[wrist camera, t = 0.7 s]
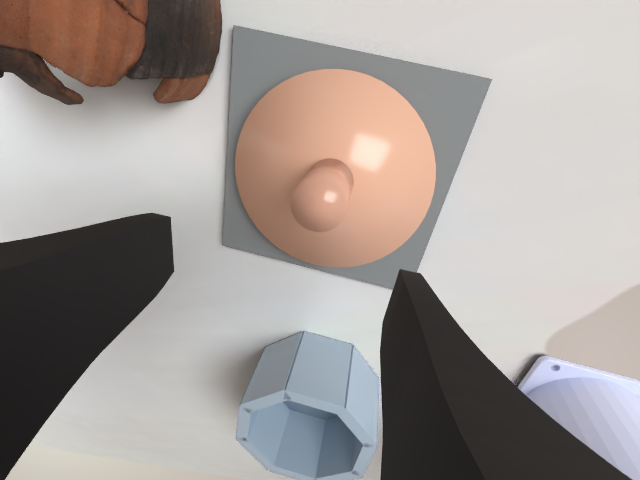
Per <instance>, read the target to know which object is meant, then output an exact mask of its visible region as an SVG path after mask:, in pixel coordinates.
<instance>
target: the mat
mask: <svg viewBox="0 0 640 480" xmlns="http://www.w3.org/2000/svg"><path fill="white" fill-rule="evenodd" d="M321 69H345V70H353V71H357V72H361V73H364V74H368V75H370V76H373V77H375V78H377V79H379V80H381V81H383V82H385V83H386V84H388V85H389V86H391V87H392V88H394V89H395V90H396V91H398V92H399V93H400V94H401V95H402V96H403V97H404V98H406V100H407V101H408V102H409V103H410V104H411V106H412V107H413V108H414V109H415V110H416V112H417V114H418V115H419V117H420V118H421V120H422V121H423V123H424V125H425V127H426V129H427V132H428V134H429V136H430V139H431V142H432V146H433V150H434V155H435V162H436V181H435V188H434V194H433V197H432V200H431V204H430V207H429V209H428V211H427V213H426V215H425V217H424V219H423V221H422V222H421V224H420V226H419V227H418V228H417V230H416V231H415V232H414V233H413V235H412V236H411V237H410V238H409V239H408V240H407V241H406V242H405V243H404V244H403V245H401V246H400V247H399V248H397V249H396V250H395V251H393V252H392V253H390V254H388V255H386V256H385V257H383V258H381V259H378V260H376V261H373V262H371V263H367V264H363V265H360V266H353V267H342V268H334V267H324V266H319V265H314V264H310V263H307V262H304V261H301V260H299V259H297V258H294V257H292V256H290V255H289V254H287V253H285V252H284V251H282V250H280V249H279V248H278V247H276V246H275V245H274V244H272V243H271V242H270V241H269V240H268V239H267V238H266V237H265V236H264V235H263V234H262V233H261V232H260V231H259V229H258V228H257V227H256V226H255V224H254V223H253V221H252V220H251V218H250V217H249V215H248V213H247V211H246V209H245V207H244V205H243V202H242V200H241V197H240V194H239V190H238V186H237V182H236V174H235V156H236V148H237V143H238V140H239V136H240V133H241V130H242V128H243V126H244V123H245V121H246V119H247V118H248V116H249V114H250V113H251V111H252V109H253V108H254V107H255V106H256V104H257V103H258V102H259V101H260V100H261V99H262V98H263V97H264V96H265V95H266V94H267V93H268V92H269V91H270V90H271V89H273V88H274V87H276V86H277V85H279V84H280V83H282V82H283V81H286V80H288V79H290V78H292V77H294V76H296V75H299V74H302V73H305V72H309V71H315V70H321ZM491 81H492V79H489V78H484V77H480V76H475V75H470V74H465V73H460V72H456V71H451V70H446V69H441V68H436V67H432V66H427V65H422V64H417V63H412V62H408V61H403V60H398V59H393V58H388V57H384V56H379V55H374V54H369V53H364V52H360V51H355V50H350V49H345V48H341V47H336V46H331V45H326V44H321V43H317V42H312V41H307V40H302V39H297V38H293V37H288V36H283V35H278V34H273V33H269V32H264V31H259V30H254V29H249V28H245V27H240V26H235V25H234V27H233V46H232V66H231V85H230V105H229V124H228V144H227V163H226V183H225V202H224V222H223V241H222V245H224V246H228V247H231V248H235V249H239V250H243V251H247V252H251V253H255V254H258V255H262V256H266V257H270V258H274V259H278V260H282V261H286V262H289V263H293V264H297V265H301V266H305V267H309V268H313V269H316V270H320V271H324V272H328V273H332V274H336V275H340V276H343V277H347V278H351V279H355V280H359V281H363V282H367V283H371V284H374V285H378V286H382V287H386V288H390V289H393V288H394V285H395V282H396V279H397V276H398V273H399V269H403V270H407V271H411V272H416V273H417V270H418V268H419V265H420V262H421V260H422V257H423V255H424V252H425V250H426V247H427V245H428V242H429V239H430V237H431V234H432V232H433V229H434V227H435V224H436V221H437V219H438V216H439V214H440V211H441V209H442V206H443V204H444V201H445V198H446V196H447V193H448V191H449V188H450V186H451V183H452V181H453V178H454V175H455V173H456V170H457V168H458V165H459V163H460V160H461V158H462V155H463V152H464V150H465V147H466V145H467V142H468V140H469V137H470V134H471V132H472V129H473V127H474V124H475V122H476V119H477V117H478V114H479V111H480V109H481V106H482V104H483V101H484V99H485V96H486V94H487V91H488V88H489V86H490V83H491Z"/></svg>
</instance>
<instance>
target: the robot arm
mask: <svg viewBox="0 0 640 480" xmlns="http://www.w3.org/2000/svg"><path fill="white" fill-rule="evenodd" d="M173 272H174V263H173V247H172V232H171V217H168V216H164V215H159V214H155V213H147V214H140V215H135V216H130V217H125V218H120V219H116V220H111V221H107V222H103V223H98V224H94V225H90V226H85V227H81V228H77V229H72V230H67V231H62V232H57V233H53V234H48V235H43V236H38V237H33V238H28V239H22V240H16V241H10V242H4V243H0V480H5V479H6V477H7V475H8V474H9V472H10V471H11V469H12V468H13V466H14V465H15V464H16V462H17V461H18V459H19V458H20V457H21V455H22V454H23V452H24V451H25V450H26V448H27V447H28V445H29V444H30V442H31V441H32V440H33V438H34V437H35V435H36V434H37V433H38V431H39V430H40V428H41V427H42V426H43V424H44V423H45V422H46V420H47V419H48V418H49V416H50V415H51V414H52V412H53V411H54V410H55V408H56V407H57V406H58V405H59V403H60V402H61V401H62V399H63V398H64V397H65V395H66V394H67V393H68V391H69V390H70V389H71V388H72V386H73V385H74V384H75V383H76V382H77V380H78V379H79V378H80V377H81V375H82V374H83V373H84V372H85V370H86V369H87V368H88V367H89V365H90V364H91V363H92V362H93V361H94V360H95V359H96V358H97V356H98V355H99V354H100V353H101V352H102V351H103V350H104V349H105V348H106V347H107V346H108V345H109V344H110V343H111V342H112V341H113V340H114V339H115V338H116V337H117V336H118V335H119V334H120V333H121V332H122V331H123V330H124V329H125V328H126V327H127V326H128V325H129V324H130V323H131V322H132V321H133V319H134V318H135V317H136V316H137V315H138V314H139V313H140V312H141V311H142V310H143V309H144V308H145V307H146V306H147V305H148V304H149V303H150V302H151V301H152V300H153V299H154V298H155V297H156V296H157V294H158V293H159V292H160V290H161V289H162V288H163V286H164V285H165V284H166V282H167V281H168V279H169V278H170V277H171V275H172V274H173ZM380 364H381V391H382V417H383V446H382V463H381V480H640V380H637V379H634V378H630V377H626V376H622V375H618V374H615V373H611V372H607V371H603V370H599V369H596V368H592V367H588V366H584V365H580V364H577V363H573V362H569V361H566V360H562V359H558V358H554V357H550V356H541V357H539V358H538V359H537V360H536V362H535V363H534V364H533V366H532V367H531V369H530V370H529V372H528V373H527V374H526V376H525V377H524V379H523V380H522V381H521V383H520V384H519V386H518V387H516V386H515V385H514V384H513V383H512V382H511V381H510V380H509V379H508V378H507V377H506V376H505V375H504V374H503V373H502V372H501V371H500V370H499V369H498V368H497V367H496V366H495V365H494V364H493V363H492V362H491V361H490V360H489V359H488V358H487V357H486V356H485V355H484V354H483V353H482V352H481V351H480V349H479V348H478V347H477V346H476V345H475V344H474V343H473V341H472V340H471V339H470V338H469V337H468V336H467V334H466V333H465V332H464V331H463V330H462V329H461V327H460V326H459V325H458V324H457V322H456V321H455V320H454V319H453V317H452V316H451V315H450V313H449V312H448V311H447V309H446V308H445V307H444V305H443V304H442V303H441V301H440V300H439V298H438V297H437V296H436V294H435V293H434V291H433V290H432V289H431V287H430V286H429V284H428V283H427V282H426V280H425V279H424V277H423V276H422V275H421V274H420V273H416V272H411V271H407V270H403V269H399V273H398V276H397V279H396V282H395V285H394V288H393V291H392V295H391V298H390V301H389V304H388V307H387V310H386V313H385V317H384V320H383V325H382V335H381V347H380ZM553 365H556V366H553Z"/></svg>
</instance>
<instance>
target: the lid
mask: <svg viewBox="0 0 640 480" xmlns="http://www.w3.org/2000/svg"><path fill="white" fill-rule="evenodd" d="M235 174H236V182H237V186H238V190H239V194H240V197H241V200H242V202H243V205H244V207H245V209H246V211H247V213H248V215H249V217H250V218H251V220H252V221H253V223H254V224H255V226H256V227H257V228H258V229H259V231H260V232H261V233H262V234H263V235H264V236H265V237H266V238H267V239H268V240H269V241H270V242H271V243H272V244H274V245H275V246H276V247H278V248H279V249H280V250H282V251H284V252H285V253H287V254H289V255H290V256H292V257H294V258H297V259H299V260H301V261H304V262H307V263H310V264H314V265H319V266H324V267H334V268H342V267H353V266H360V265H363V264H367V263H371V262H373V261H376V260H378V259H381V258H383V257H385V256H386V255H388V254H390V253H392V252H393V251H395V250H396V249H397V248H399V247H400V246H401V245H403V244H404V243H405V242H406V241H407V240H408V239H409V238H410V237H411V236H412V235H413V233H414V232H415V231H416V230H417V228H418V227H419V226H420V224H421V222H422V221H423V219H424V217H425V215H426V213H427V211H428V209H429V207H430V204H431V200H432V197H433V194H434V188H435V181H436V162H435V155H434V150H433V146H432V142H431V139H430V136H429V134H428V132H427V129H426V127H425V125H424V123H423V121H422V120H421V118H420V117H419V115H418V114H417V112H416V110H415V109H414V108H413V107H412V106H411V104H410V103H409V102H408V101H407V100H406V98H404V97H403V96H402V95H401V94H400V93H399V92H398V91H396V90H395V89H394V88H392V87H391V86H389V85H388V84H386V83H385V82H383V81H381V80H379V79H377V78H375V77H373V76H370V75H368V74H364V73H361V72H357V71H353V70H345V69H321V70H315V71H309V72H305V73H302V74H299V75H296V76H294V77H292V78H290V79H288V80H286V81H283V82H282V83H280V84H279V85H277V86H276V87H274V88H273V89H271V90H270V91H269V92H268V93H267V94H266V95H265V96H264V97H263V98H262V99H261V100H260V101H259V102H258V103H257V104H256V106H255V107H254V108H253V109H252V111H251V113H250V114H249V116H248V118H247V119H246V121H245V123H244V126H243V128H242V130H241V133H240V136H239V140H238V143H237V148H236V156H235Z"/></svg>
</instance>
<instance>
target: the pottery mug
mask: <svg viewBox="0 0 640 480" xmlns="http://www.w3.org/2000/svg"><path fill="white" fill-rule="evenodd" d="M221 33H222V14H221V4H220V0H0V78H2V77H3V75H4V72H11V73H14V74H15V75H17V76H18V77H19V78H21V79H22V80H23V81H24V82H25V83H27V84H28V85H29V86H31V87H33V88H35V89H36V90H37V91H39V92H41V93H42V94H45V95H48V96H50V97H52V98H55V99H57V100H59V101H61V102H63V103H64V104H67V105H72V104H81V103H83V101H84V100H83V98H82V97H81V95H80V94H78V93H76V92H75V91H73V90H71V89H69V88H67V87H65V86H64V85H63V84H62V82H61V81H60V80H58V79H57V78H56V77H55V76H54V75H53V74H52V72H51V71H50V70H49V68H48V67H47V65H46V64H45V62H44V60H46V61H47V62H48V63H50V64H51V65H52V66H54V67H57V68H59V69H61V70H62V71H63V72H64V73H65V74H67V75H69V76H71V77H72V78H75V79H77V80H79V81H80V82H82V83H84V84H85V85H87V86H90V87H94V86H100V87H107V86H113V85H115V84H116V83H117V82H118V81H119V80H121V79H122V77H123V76H125V75H126V76H127V77H128V78H130V79H148V78H162V77H163V80H162V82H161V83H160V86H159V87H158V88H157V90H156V91H155V92H154V93H153V96H154V98H155V100H156V101H157V102H159V103H171V102H177V101H182V100H191V99H194V98H195V97H196V96H197V95H199V94H200V92H201V91H202V89H203V88H204V87H205V85H206V83H207V81H208V79H209V77H210V74H211V72H212V71H213V68H214V65H215V61H216V58H217V55H218V53H219V46H220V38H221ZM42 58H43V59H44V60H43V59H42Z"/></svg>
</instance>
